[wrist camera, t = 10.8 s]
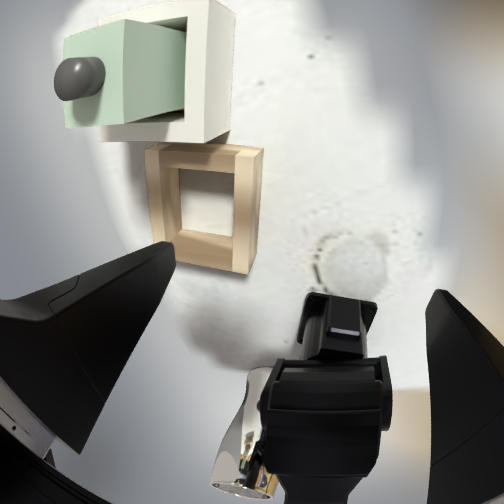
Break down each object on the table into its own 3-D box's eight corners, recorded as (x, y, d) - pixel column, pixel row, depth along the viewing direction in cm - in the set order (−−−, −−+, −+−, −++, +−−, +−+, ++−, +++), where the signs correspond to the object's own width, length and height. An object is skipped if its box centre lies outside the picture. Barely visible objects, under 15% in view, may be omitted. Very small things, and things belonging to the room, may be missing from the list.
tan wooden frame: (256, 253, 25) (247, 274, 23) (170, 238, 26) (155, 256, 24) (263, 147, 20) (254, 157, 18) (164, 141, 22) (144, 150, 19)
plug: (195, 105, 18) (102, 130, 10) (145, 107, 19) (45, 136, 11) (198, 36, 15) (102, 15, 7) (146, 42, 16) (42, 39, 8)
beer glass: (249, 393, 37) (217, 492, 25) (239, 362, 34) (197, 476, 21) (301, 397, 35) (278, 503, 23) (297, 365, 32) (271, 491, 19)
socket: (230, 130, 20) (203, 143, 16) (138, 128, 21) (98, 142, 17) (235, 13, 15) (209, -5, 11) (138, 25, 17) (97, 19, 12)
